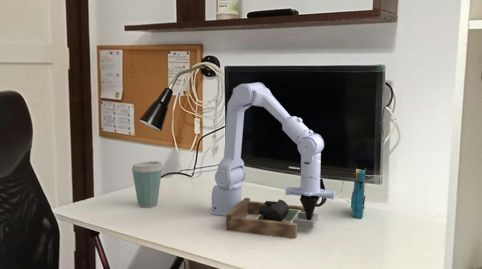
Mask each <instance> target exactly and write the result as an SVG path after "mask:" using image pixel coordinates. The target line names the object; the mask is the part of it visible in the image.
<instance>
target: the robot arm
mask: <svg viewBox="0 0 482 269" xmlns="http://www.w3.org/2000/svg"><path fill="white" fill-rule="evenodd" d="M226 106H227V107H226V108H227V110H226V123H225V135H224V136H225V137H224V148H223V158H222V159H221V160H220V161H219V163H218V164H217V170H216V172H215V173H214V181H215V183H216V184H215V185H214V186H213V187H212V191H211V212H210V214H211V215H214V216H215V215H217V216H226V214H227V213H228V212H230V211H231V210H232V209H233V208H234V207H235V206H236V205H238V204H239V203H240V202H241V201H242V185H243V181H245V178H246V170H245V162H244V160H243V159H242V157H241V156H242V143H243V131H244V120H245V118H244V117H245V111H246V110H247V109H249V108H250V107H251V106H255V107H261V108H262V107H263V108H264V109H265V110H267V112H269V113H270V114H271V115H272V116H273V117H274V118H275V119H276V120H278V122H279V123H281V125H282V127H281V128H282V131H283V132H284V133H285V134H286V135H287V136H288V137H289V138H290V139H291V141H293V142H294V143H295V145H297V151H298V152H299V154H300V187H297V186H296V187H292V186H287V187H286V188H285V194H284V195H285V196H300V198H299V201H300V203H301V206H303V208H304V210H305V214H306V218H307V220H311V219H312V216H313V213H315V212H314V211H315V208H316V206H317V203H318V201H319V200H320V199H321V198H322V199H330V200H335V198H336V191H335V190H328V189H324V188H323V189H322V188H320V187H321V163H322V161H321V158H322V157H321V156H322V153H321V152H322V151H323V150H324V148H325V142H324V139H323V137H322V136H321V134H318V133H315V132H314V131H313V130H312V129H309V128H308V126H306V125H305V124H304V122H303V119H302V118H301V117H297V116H294V115H292V116H291V115H290V113H288V111H287V110H286V109H285V108H284V107H283V106H282V105H281V103H280V102H279V101H278V100H277V99H276V97H275V96H274V95H273V94H272V92H271V90H270V89H269V88H267V87H266V86H265V84H264V83H262V82H259V81H258V82H257V81H256V82H252V83H241V84H239V85H237V86H236V87H233V89H232V94H231V96H230V98H229V100H228V102H227V105H226Z"/></svg>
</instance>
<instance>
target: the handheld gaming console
mask: <svg viewBox="0 0 482 269" xmlns="http://www.w3.org/2000/svg"><path fill="white" fill-rule="evenodd" d="M355 176H356V178H354V182H353V191H352V194H351V198H350V209H351V214H352V218H355V219H358V220H362V218H364V210H365V208H366V205H365V202H366V195H365V189H366V188H365V186H366V185H365V183H366V182H365V183H364V178H365V179H366V169H365V170H361V169H357V168H356V170H355Z"/></svg>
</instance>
